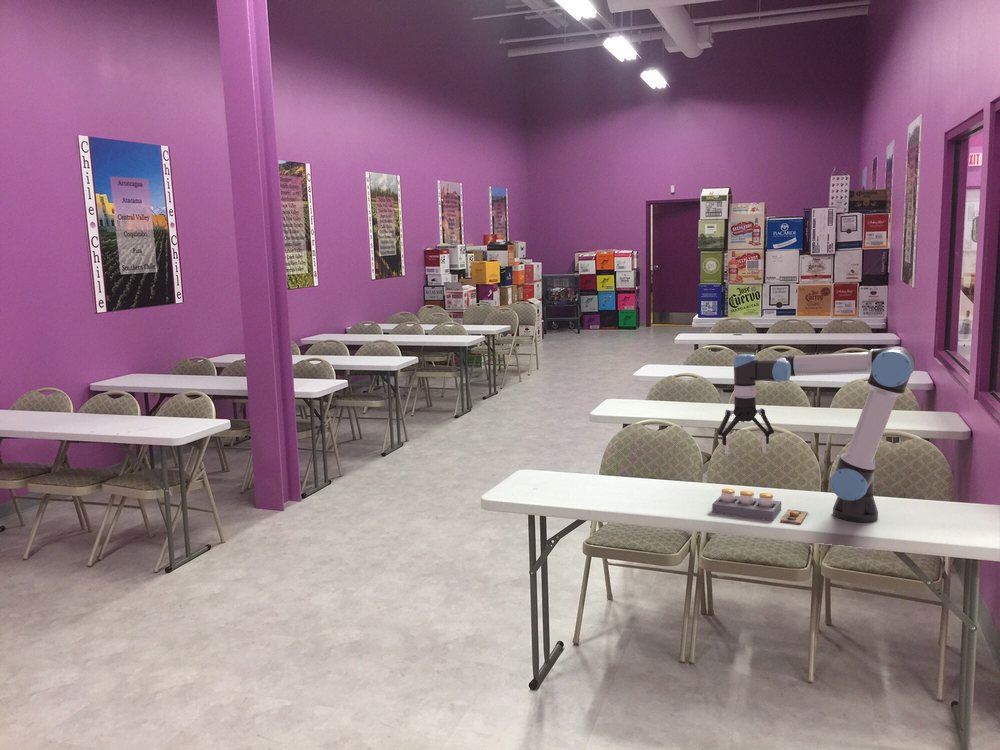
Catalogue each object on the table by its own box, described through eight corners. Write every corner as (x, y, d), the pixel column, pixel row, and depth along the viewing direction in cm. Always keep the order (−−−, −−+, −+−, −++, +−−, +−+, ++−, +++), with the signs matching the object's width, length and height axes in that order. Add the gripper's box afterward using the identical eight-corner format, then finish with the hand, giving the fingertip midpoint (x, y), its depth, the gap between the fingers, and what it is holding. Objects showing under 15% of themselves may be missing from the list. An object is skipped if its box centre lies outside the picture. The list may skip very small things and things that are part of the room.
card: (807, 513, 300) (807, 508, 300) (800, 524, 288) (800, 519, 288) (788, 511, 304) (788, 506, 303) (780, 522, 292) (780, 516, 291)
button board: (781, 510, 305) (781, 501, 304) (773, 521, 293) (773, 511, 292) (722, 503, 316) (722, 494, 315) (712, 513, 304) (712, 503, 303)
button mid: (754, 503, 305) (755, 491, 304) (751, 506, 301) (752, 494, 300) (741, 501, 307) (742, 490, 307) (738, 504, 303) (738, 493, 302)
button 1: (736, 500, 308) (736, 489, 308) (732, 504, 304) (732, 492, 304) (723, 499, 311) (723, 487, 310) (719, 502, 307) (720, 491, 306)
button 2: (774, 505, 301) (774, 493, 301) (771, 508, 297) (771, 497, 297) (760, 503, 304) (761, 492, 303) (757, 507, 300) (758, 495, 299)
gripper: (776, 393, 301) (777, 449, 304) (708, 396, 303) (709, 452, 306) (782, 396, 294) (782, 454, 297) (712, 399, 296) (713, 456, 298)
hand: (745, 453), depth 301 cm, fingers open, 13 cm apart
